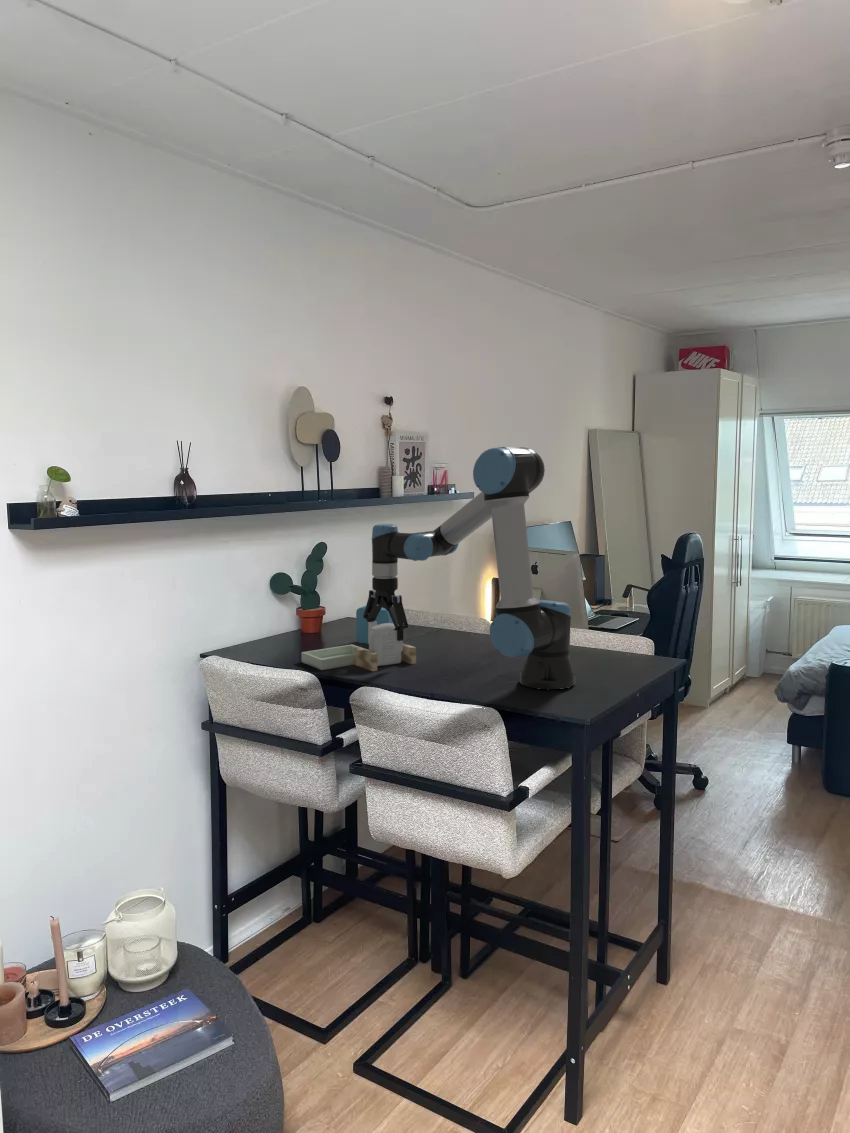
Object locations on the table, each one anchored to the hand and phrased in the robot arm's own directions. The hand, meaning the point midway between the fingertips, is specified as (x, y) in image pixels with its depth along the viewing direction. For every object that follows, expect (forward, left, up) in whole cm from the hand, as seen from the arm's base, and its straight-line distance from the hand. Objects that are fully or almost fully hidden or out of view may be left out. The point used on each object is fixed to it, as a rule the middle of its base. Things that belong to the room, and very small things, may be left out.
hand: (385, 647), depth 254 cm
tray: (+11, +10, -5) cm, 16 cm away
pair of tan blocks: (0, 0, -5) cm, 5 cm away
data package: (+25, -13, -6) cm, 29 cm away
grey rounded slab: (0, 0, -6) cm, 6 cm away
